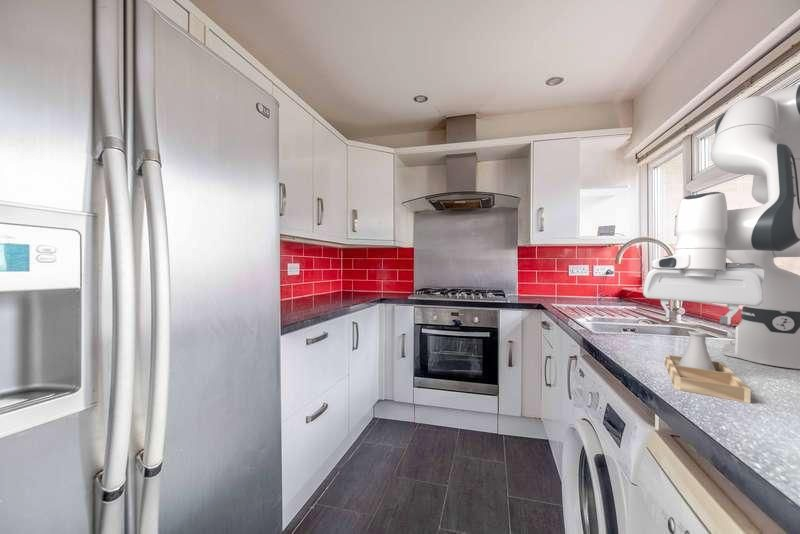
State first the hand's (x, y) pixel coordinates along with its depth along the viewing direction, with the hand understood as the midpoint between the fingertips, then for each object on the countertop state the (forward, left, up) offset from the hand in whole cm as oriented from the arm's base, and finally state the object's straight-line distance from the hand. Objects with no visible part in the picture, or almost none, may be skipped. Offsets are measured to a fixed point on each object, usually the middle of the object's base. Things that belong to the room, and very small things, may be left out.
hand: (696, 321), depth 74 cm
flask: (-1, 0, -13) cm, 13 cm away
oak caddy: (+4, 0, -12) cm, 13 cm away
